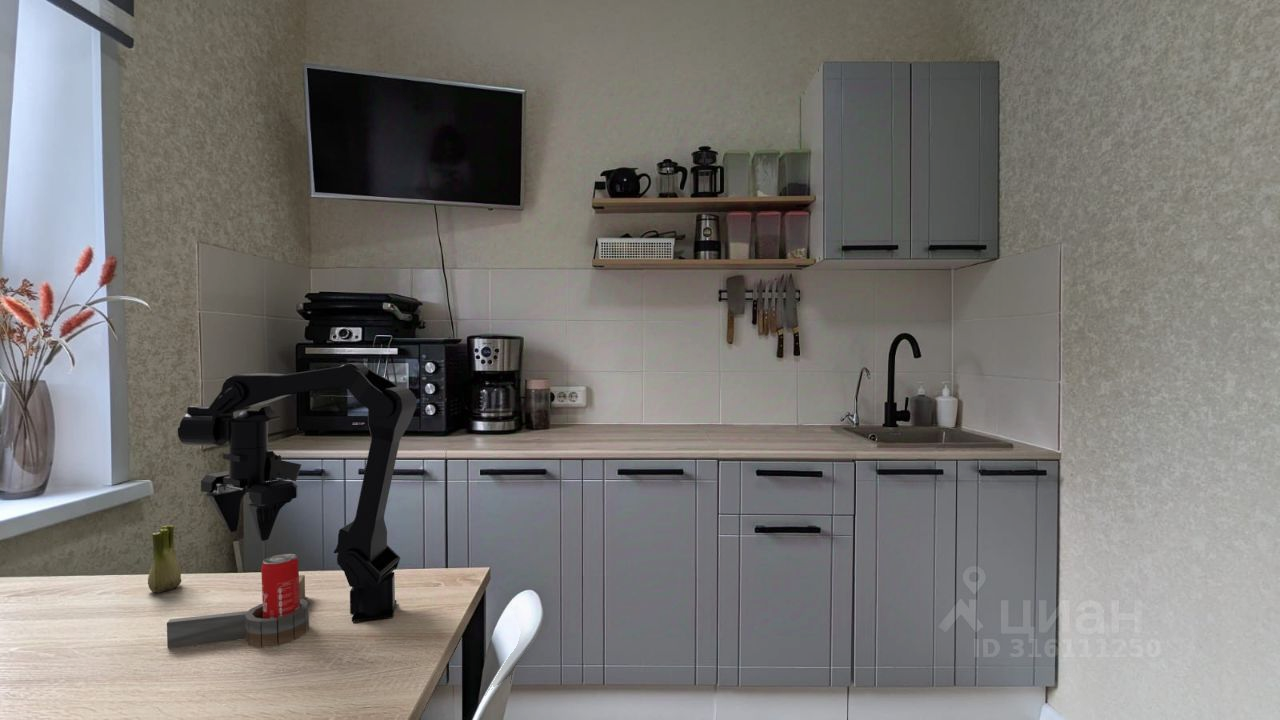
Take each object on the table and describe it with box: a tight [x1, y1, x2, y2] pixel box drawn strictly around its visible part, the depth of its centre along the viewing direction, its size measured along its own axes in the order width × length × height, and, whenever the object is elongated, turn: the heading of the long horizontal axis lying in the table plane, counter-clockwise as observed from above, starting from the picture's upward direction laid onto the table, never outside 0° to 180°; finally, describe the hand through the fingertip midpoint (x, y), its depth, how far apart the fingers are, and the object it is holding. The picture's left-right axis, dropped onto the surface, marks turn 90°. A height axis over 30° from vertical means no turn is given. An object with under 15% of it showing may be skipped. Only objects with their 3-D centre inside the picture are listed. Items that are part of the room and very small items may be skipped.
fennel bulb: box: [147, 524, 182, 593], centre depth 118 cm, size 6×5×12 cm
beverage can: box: [260, 553, 300, 619], centre depth 100 cm, size 5×5×12 cm
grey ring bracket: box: [166, 574, 310, 649], centre depth 104 cm, size 19×19×4 cm
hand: (248, 535), depth 108 cm, fingers open, 9 cm apart
